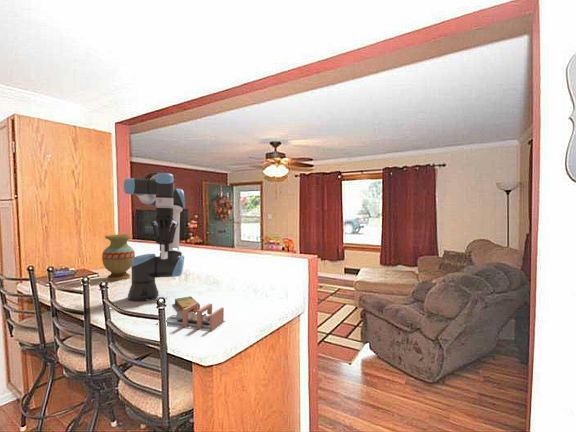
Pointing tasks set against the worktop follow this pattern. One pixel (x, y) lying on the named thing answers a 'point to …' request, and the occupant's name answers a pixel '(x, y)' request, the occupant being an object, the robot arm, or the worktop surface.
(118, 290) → the worktop surface
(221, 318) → the collar deck
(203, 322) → the tube
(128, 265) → the vase
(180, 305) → the carton
